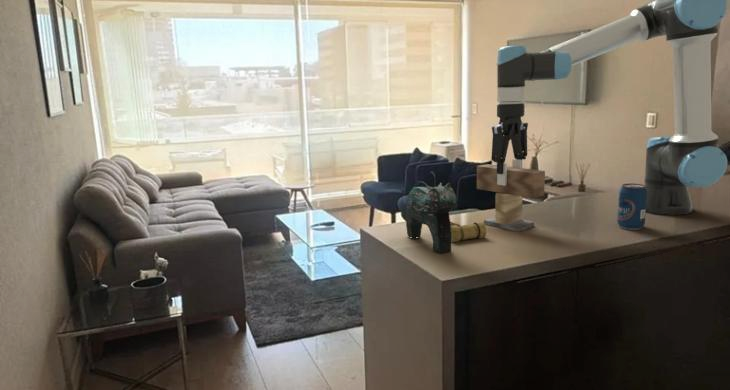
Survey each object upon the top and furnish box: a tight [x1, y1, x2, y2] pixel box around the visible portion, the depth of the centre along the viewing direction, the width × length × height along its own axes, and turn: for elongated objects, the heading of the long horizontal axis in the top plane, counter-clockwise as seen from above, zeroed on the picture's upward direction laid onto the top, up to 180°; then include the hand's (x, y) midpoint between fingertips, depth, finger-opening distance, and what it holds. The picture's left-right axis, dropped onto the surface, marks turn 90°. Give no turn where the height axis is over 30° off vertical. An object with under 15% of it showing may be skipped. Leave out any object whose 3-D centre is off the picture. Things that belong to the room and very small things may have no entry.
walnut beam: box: [476, 163, 546, 199], centre depth 148 cm, size 20×5×7 cm, turn 38°
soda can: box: [616, 183, 647, 231], centre depth 143 cm, size 7×7×12 cm
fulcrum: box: [483, 192, 535, 232], centre depth 150 cm, size 12×8×10 cm, turn 38°
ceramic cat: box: [405, 171, 457, 254], centre depth 134 cm, size 20×6×20 cm, turn 23°
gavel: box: [450, 221, 487, 243], centre depth 147 cm, size 21×5×10 cm
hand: (509, 183), depth 148 cm, fingers open, 6 cm apart
